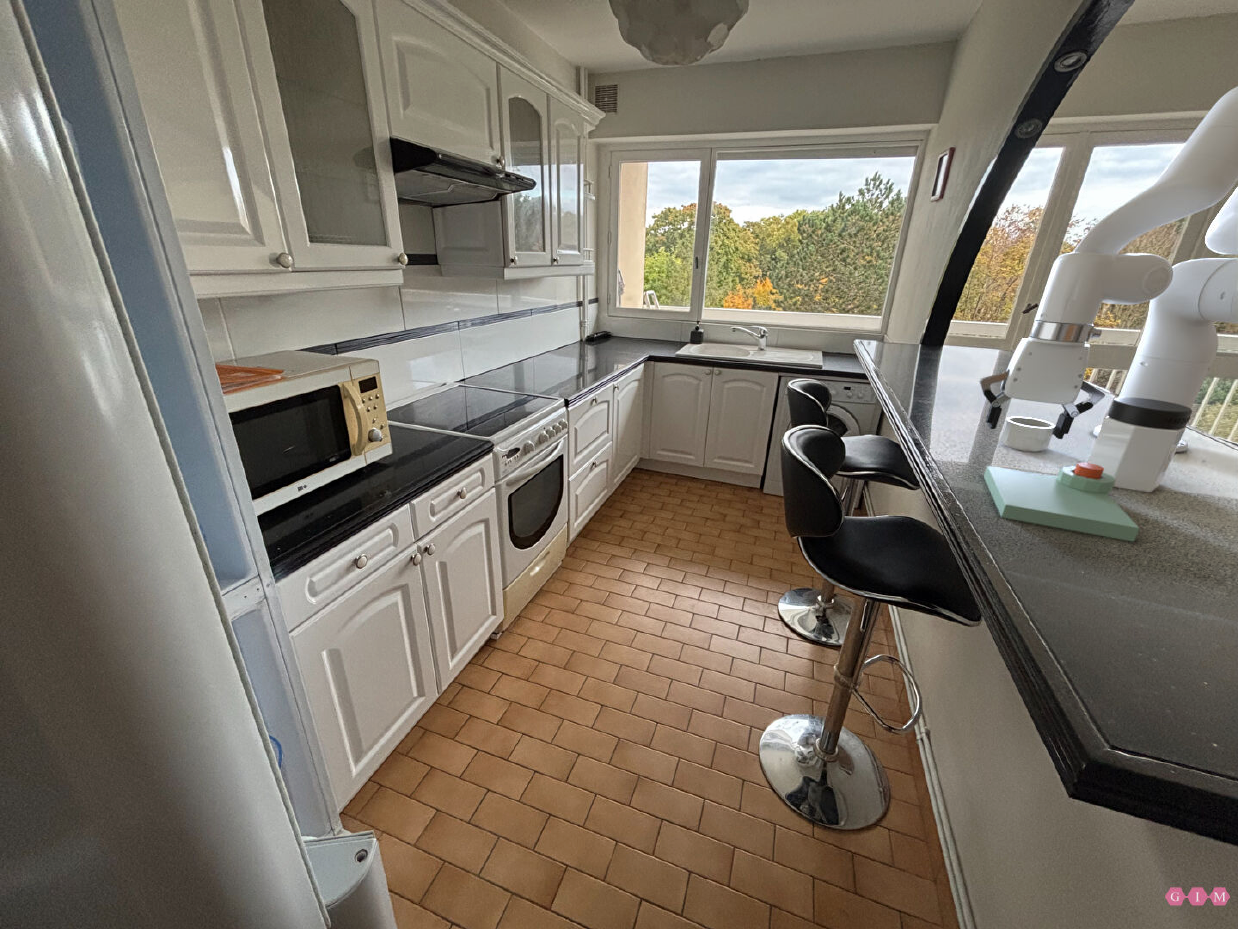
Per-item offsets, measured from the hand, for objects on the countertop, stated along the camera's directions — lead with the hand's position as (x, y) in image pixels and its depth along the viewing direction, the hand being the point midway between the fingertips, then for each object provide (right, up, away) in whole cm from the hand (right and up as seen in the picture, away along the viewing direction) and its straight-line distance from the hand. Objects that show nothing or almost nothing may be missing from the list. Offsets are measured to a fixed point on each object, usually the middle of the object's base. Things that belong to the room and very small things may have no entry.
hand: (1023, 432), depth 90 cm
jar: (+4, -8, -13) cm, 16 cm away
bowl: (+1, -3, +1) cm, 3 cm away
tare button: (-7, -7, -20) cm, 22 cm away
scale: (-14, -11, -21) cm, 28 cm away
